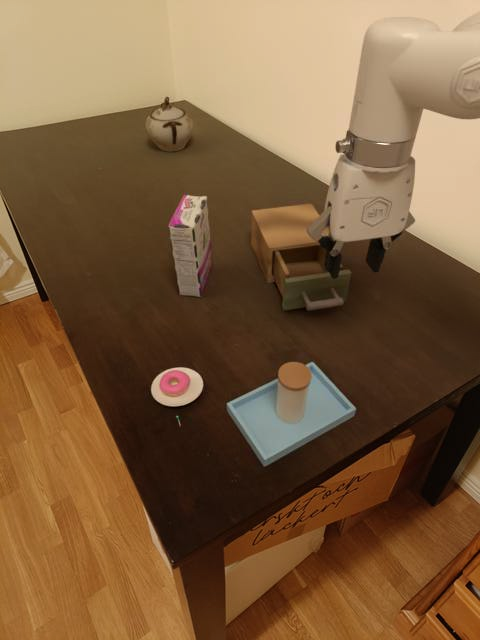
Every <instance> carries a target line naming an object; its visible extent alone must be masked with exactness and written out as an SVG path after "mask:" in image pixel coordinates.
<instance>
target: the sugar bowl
mask: <svg viewBox="0 0 480 640" xmlns="http://www.w3.org/2000/svg"><path fill="white" fill-rule="evenodd" d="M144 126H145V131H146V134H147V136H148V137H149V139H150V140H151V141H152V142H153V143H154V144H155V145H156V146H157V147H158V148H159V149H160V150H161V151H164V152H171V153H172V152H174V153H175V152H179V151H181V150H183V149H185V147H186V145H187V143H188V142H189V140H190V138H191V136H192V134H193V132H194V121H193V119H192V116H191V115H190V114H189V113H188V112H187V111H186V110H184V109H183V108H181V107H175V106H173V105H172V106H171V105H170V97H169V96H165V97H164V102H162V103H161V104H160V107H159V108H156V109H153V110H152V111H151V112H150V113H149V115H148V117H147V118H146V120H145V125H144Z"/></svg>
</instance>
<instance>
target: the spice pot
mask: <svg viewBox="0 0 480 640" xmlns="http://www.w3.org/2000/svg"><path fill="white" fill-rule="evenodd" d="M306 365H307V364H304V363H302V362H299V361H288V362H286V363H283V364H282V365H281V366H280V367H279V368H278V372H277V379H278V389H277V400H276V415H277V417H278V418H279V419H280V420H281V421H282V422H284V423H288V424H295V423H298V422H300V421H301V420H302V419H303V417H304V414H305V408H306V403H307V397H308V391H309V385H310V383H311V378H312V374H311V371H310V370H309V368H308V367H307V366H306Z"/></svg>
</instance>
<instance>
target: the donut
mask: <svg viewBox="0 0 480 640" xmlns="http://www.w3.org/2000/svg"><path fill="white" fill-rule="evenodd" d="M203 389H204V380H203V378H202V376H201V375H200V374H199V373H198V372H197V371H196V370H194V369H191V368H188V367H171V368H168V369H166V370H164V371H162V372H160V373H159V374H158V375H157V376H156V377H155V378H154V380H153V381H152V382H151V387H150V391H151V392H150V393H151V396H152V397H153V399H154V400H155V401H156V402H158V403H159V404H161V405H163V406H167V407H180V406H185V405H187V404H190V403H192V402H194V401H195V400H196V399H197V398H198V397H199V396H200V395H201V394H202V391H203ZM175 418H176V419H177V420H178V424H179V427H181V423H180V419H179V415H176V416H175Z"/></svg>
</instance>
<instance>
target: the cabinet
mask: <svg viewBox="0 0 480 640" xmlns="http://www.w3.org/2000/svg"><path fill="white" fill-rule="evenodd" d="M319 216H320V214H319V212H318V211H317V209H316V208H315V207H314V205H313V203H304V204H296V205H287V206H278V207H269V208H261V209H254V210H251V220H250V221H251V222H250V223H251V225H250V226H251V227H250V228H251V229H250V233H251V234H250V245H251V247H252V250H253V252H254V254H255V257H256V259H257V262H258V264H259V267H260V269H261V271H262V273H263V276H264V278H265V281H266V284H270V283H276V281H275V279H274V277H273V275H272V256H273V251H278V250H285V249H292V248H300V247H307V246H315V245H320V244H319V243H318V242H316V241H315V240H313V239H312V238H311V237H310V236H309V234H308V233H307V228H308V227H309V226H310V225H311V224H312V223H313V222H314V221H315V220H316V219H317V218H318V217H319ZM328 227H329V226H327V227H326V228H325V229H324V230H323V231H322V233H324V234H325V235H326V236H327V235H328V233H329V231H330V228H328ZM334 242H335V241H334Z"/></svg>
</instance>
